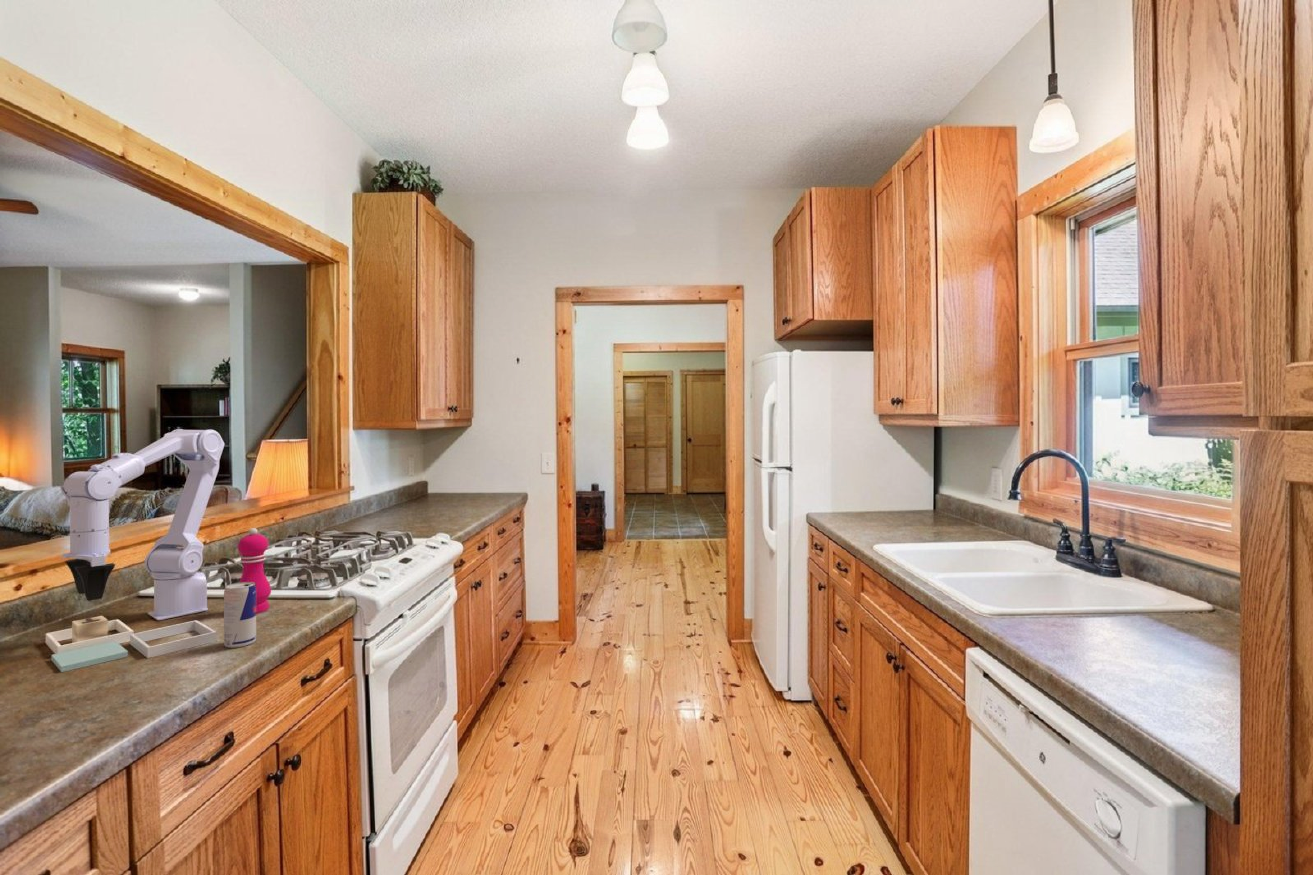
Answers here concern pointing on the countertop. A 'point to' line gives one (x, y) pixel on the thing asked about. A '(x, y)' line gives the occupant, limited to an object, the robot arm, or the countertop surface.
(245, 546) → the pepper mill
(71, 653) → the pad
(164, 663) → the countertop surface
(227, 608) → the energy drink
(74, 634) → the letter cube
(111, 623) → the white tray
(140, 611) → the countertop surface
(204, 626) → the white rectangular frame
